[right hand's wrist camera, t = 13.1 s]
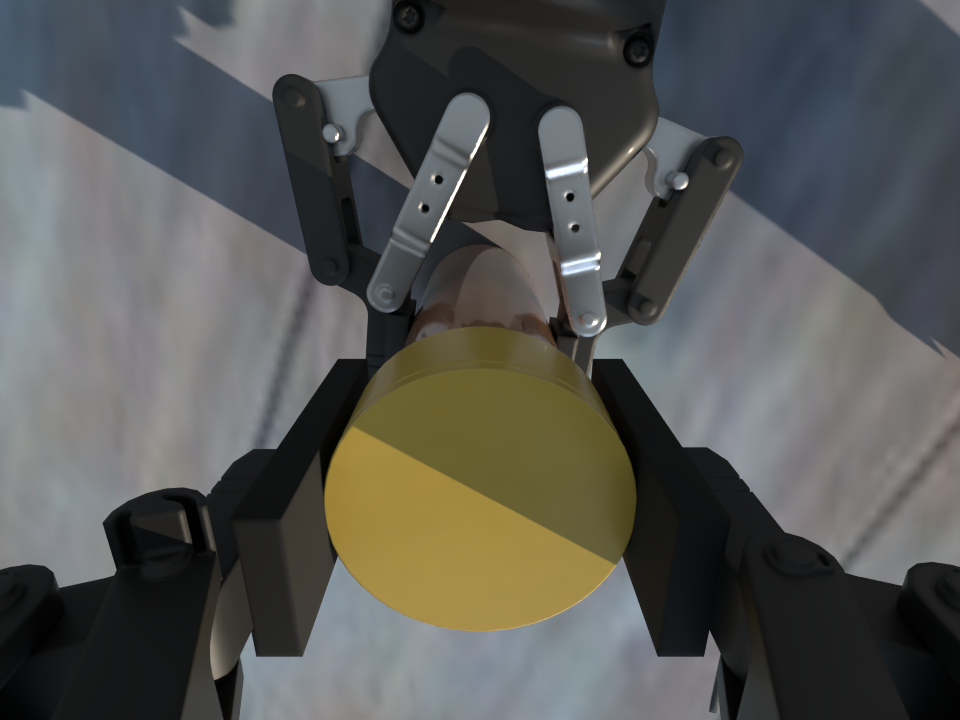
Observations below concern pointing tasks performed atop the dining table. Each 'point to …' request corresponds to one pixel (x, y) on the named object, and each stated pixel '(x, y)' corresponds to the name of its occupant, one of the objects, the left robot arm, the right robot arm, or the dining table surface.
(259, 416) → the dining table surface
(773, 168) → the dining table surface
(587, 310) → the left robot arm
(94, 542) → the dining table surface
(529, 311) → the jar
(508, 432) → the lid
